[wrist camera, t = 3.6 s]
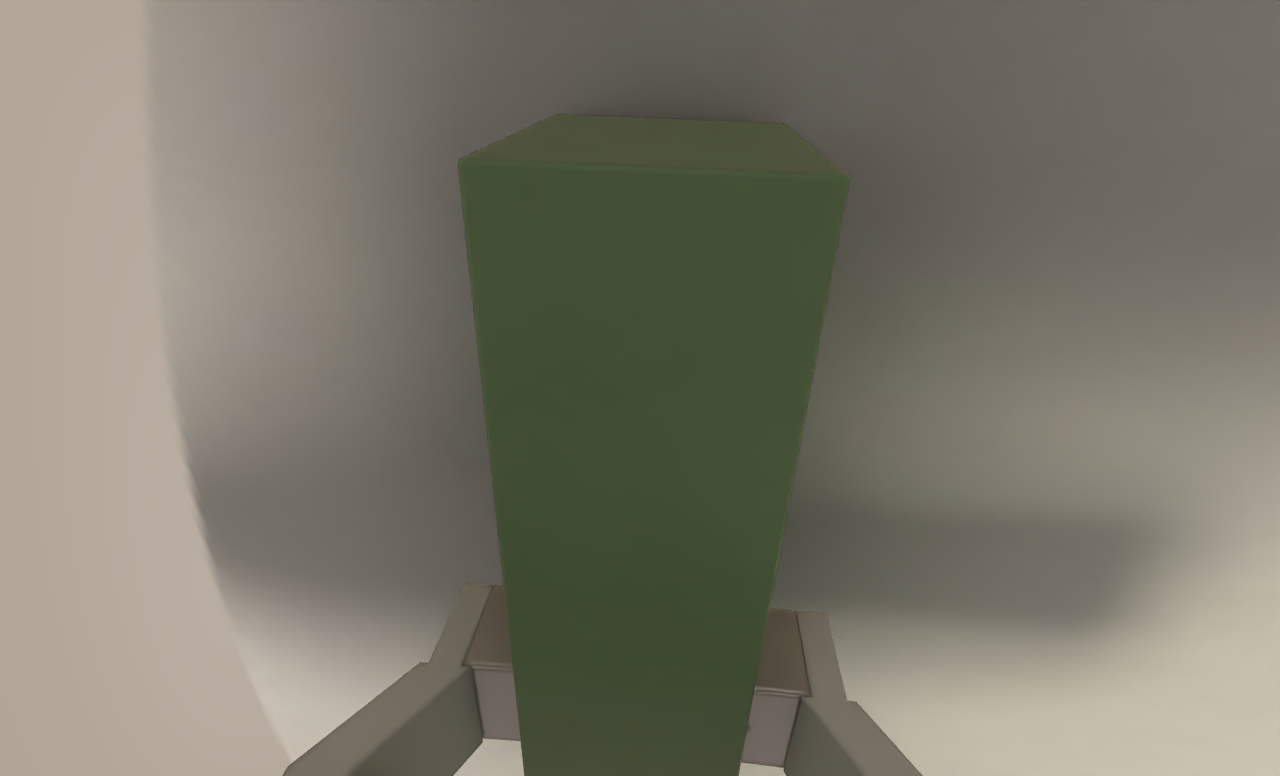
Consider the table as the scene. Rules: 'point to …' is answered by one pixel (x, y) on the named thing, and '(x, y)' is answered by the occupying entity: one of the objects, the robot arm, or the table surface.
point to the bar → (644, 419)
